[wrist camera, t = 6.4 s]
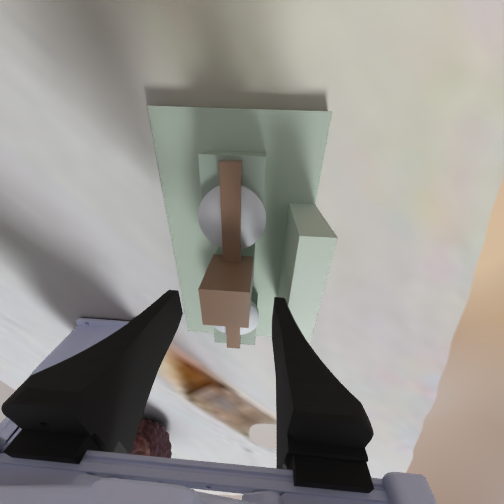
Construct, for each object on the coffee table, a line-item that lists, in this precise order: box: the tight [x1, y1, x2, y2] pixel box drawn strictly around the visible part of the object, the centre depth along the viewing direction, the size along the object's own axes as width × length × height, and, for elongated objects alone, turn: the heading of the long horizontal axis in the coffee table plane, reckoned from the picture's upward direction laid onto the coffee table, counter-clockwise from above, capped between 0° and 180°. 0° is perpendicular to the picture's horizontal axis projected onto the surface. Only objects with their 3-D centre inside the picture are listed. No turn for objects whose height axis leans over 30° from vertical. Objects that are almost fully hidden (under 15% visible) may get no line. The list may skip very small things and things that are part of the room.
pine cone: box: [131, 418, 172, 458], centre depth 36 cm, size 18×10×10 cm, turn 14°
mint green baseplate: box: [147, 106, 338, 345], centre depth 17 cm, size 12×22×7 cm, turn 178°
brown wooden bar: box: [198, 160, 266, 348], centre depth 14 cm, size 4×16×4 cm, turn 178°
